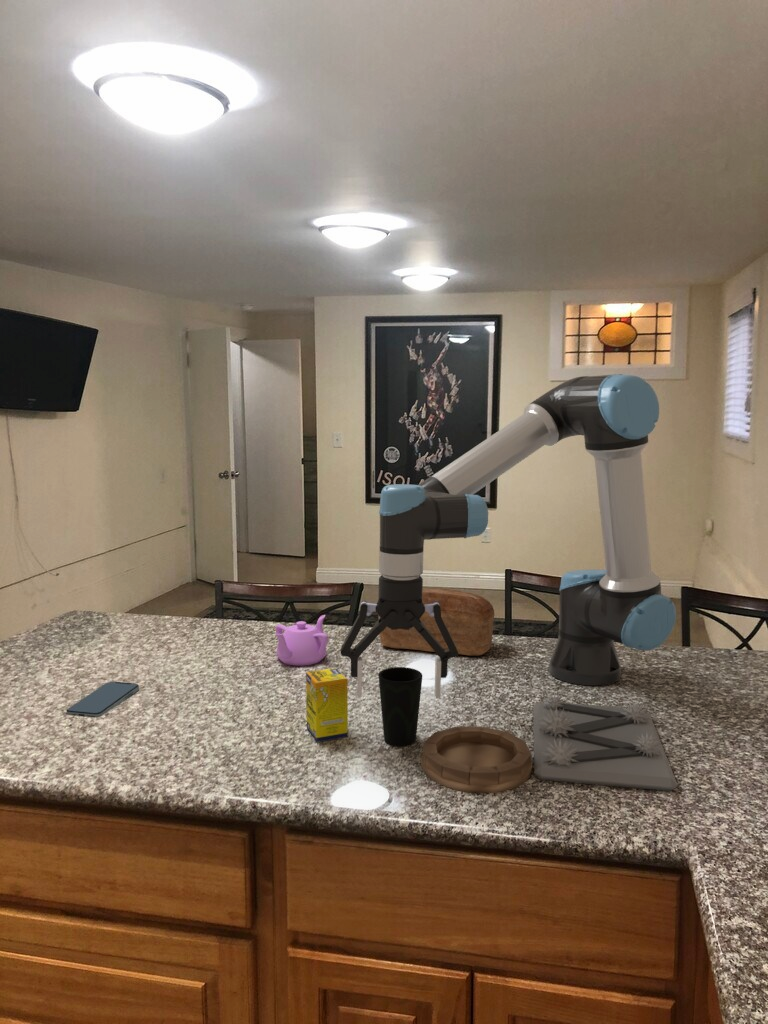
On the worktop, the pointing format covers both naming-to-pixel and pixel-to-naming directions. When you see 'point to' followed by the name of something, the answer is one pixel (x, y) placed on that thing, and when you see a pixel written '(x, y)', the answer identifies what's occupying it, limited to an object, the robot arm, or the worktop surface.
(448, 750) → the round tray
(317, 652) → the teapot
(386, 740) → the cup
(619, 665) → the robot arm
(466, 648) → the bread
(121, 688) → the smartphone
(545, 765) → the grey board with spikes
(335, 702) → the supplement box
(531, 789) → the worktop surface
